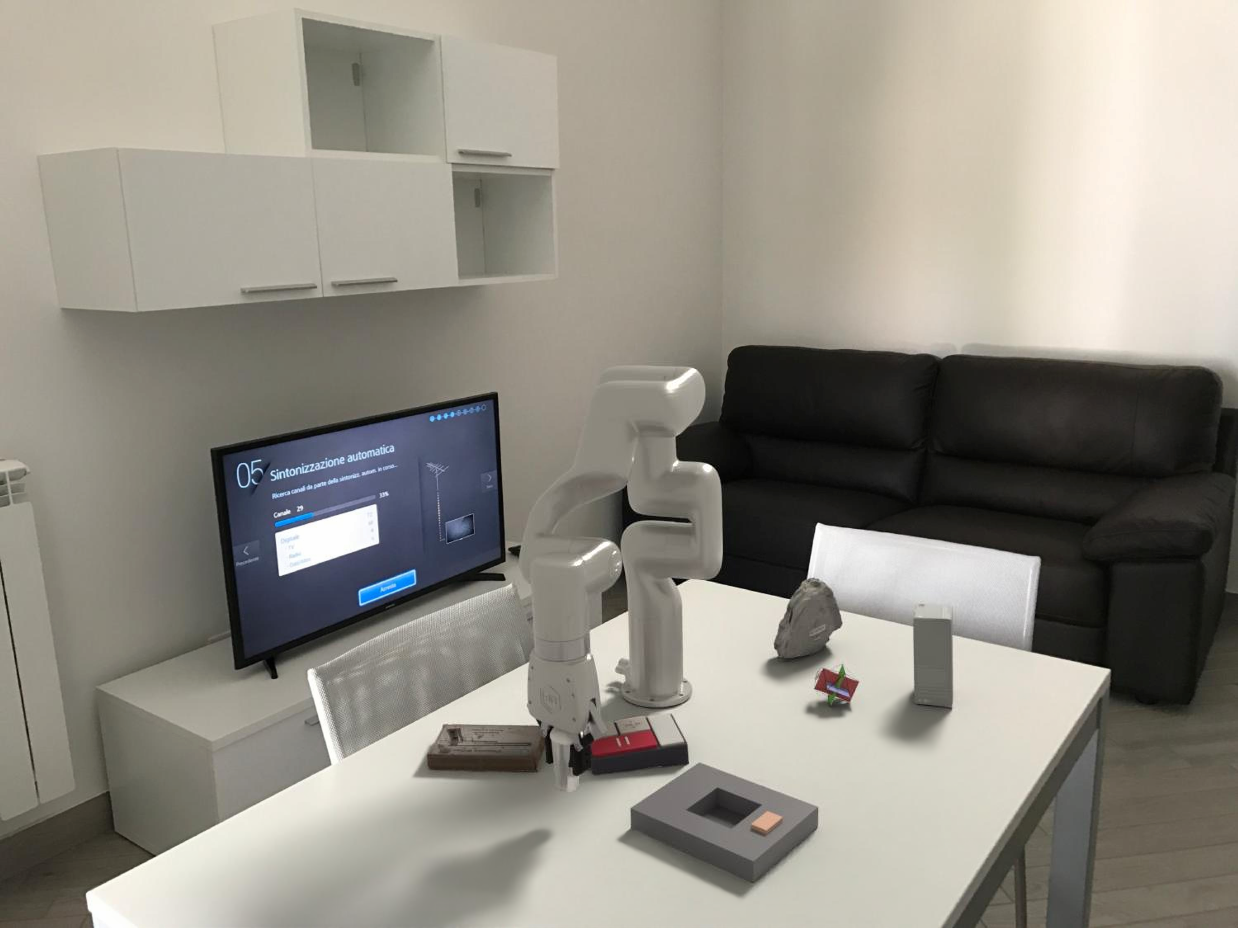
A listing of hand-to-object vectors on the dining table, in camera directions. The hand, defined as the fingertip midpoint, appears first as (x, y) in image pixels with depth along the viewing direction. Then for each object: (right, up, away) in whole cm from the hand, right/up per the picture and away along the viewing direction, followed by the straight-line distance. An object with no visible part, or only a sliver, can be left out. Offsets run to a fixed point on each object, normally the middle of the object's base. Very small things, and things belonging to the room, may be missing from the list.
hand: (568, 764), depth 142 cm
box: (-14, -5, +20) cm, 25 cm away
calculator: (+9, -5, +20) cm, 22 cm away
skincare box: (+62, +1, +37) cm, 72 cm away
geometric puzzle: (+45, 0, +35) cm, 57 cm away
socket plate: (+21, -8, -2) cm, 23 cm away
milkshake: (0, -3, +1) cm, 4 cm away
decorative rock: (+44, +5, +57) cm, 72 cm away
